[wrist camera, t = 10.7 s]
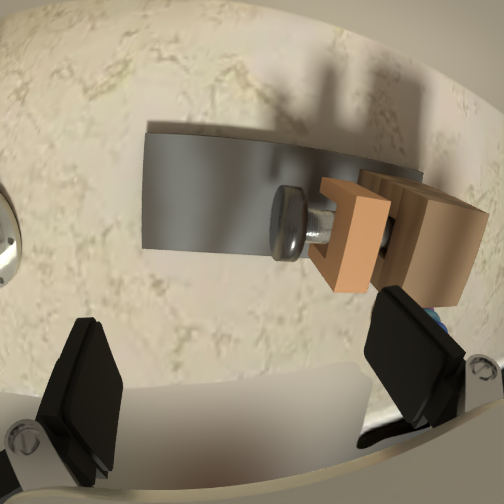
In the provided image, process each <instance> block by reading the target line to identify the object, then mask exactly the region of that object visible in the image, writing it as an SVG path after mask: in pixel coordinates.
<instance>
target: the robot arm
mask: <svg viewBox="0 0 504 504" xmlns="http://www.w3.org/2000/svg"><path fill="white" fill-rule="evenodd" d="M20 260H21V239H20V233H19V229H18V225H17V222H16V219H15V217H14V214H13V212H12V210H11V208H10V206H9V204H8V202H7V201H6V200H5V198H4V197H3V195H2V194H1V193H0V288H2V287H4V286H6V285H7V284H8V283H9V282H10V281H11V280H12V279H13V277H14V276H15V274H16V273H17V270H18V268H19V265H20ZM465 354H466V352H465V351H464V350H463V349H462V348H461V347H460V346H459V345H458V344H457V343H456V341H455V340H454V339H453V338H452V337H451V336H450V335H449V334H448V333H447V332H446V331H445V330H444V329H443V328H442V327H441V326H440V325H439V324H438V323H437V322H436V321H435V320H434V319H433V318H432V317H431V316H430V315H429V314H428V313H427V312H426V311H425V310H424V309H423V308H422V307H421V306H420V305H419V304H418V303H417V302H416V301H415V300H413V299H412V298H411V297H410V296H409V295H408V294H407V293H406V292H405V291H404V290H403V289H402V288H401V287H400V286H398V285H393V286H387V287H383V288H382V289H381V291H380V292H378V294H377V297H376V302H375V306H374V311H373V315H372V319H371V324H370V328H369V332H368V336H367V340H366V343H365V347H364V355H365V358H366V360H367V361H368V363H369V364H370V366H371V367H372V369H373V370H374V372H375V373H376V375H377V376H378V378H379V379H380V381H381V383H382V384H383V386H384V387H385V389H386V390H387V392H388V393H389V395H390V397H391V398H392V400H393V401H394V403H395V404H396V406H397V408H398V409H399V411H400V412H401V414H402V416H403V417H404V419H405V420H406V421H407V422H408V423H411V424H412V426H413V427H414V429H415V428H418V427H420V426H422V425H424V424H426V423H427V422H429V424H430V425H431V426H430V430H429V431H427V432H424V433H422V434H420V435H418V436H416V437H413V438H411V439H409V440H407V441H404V442H401V443H399V444H396V445H394V446H391V447H389V448H386V449H384V450H381V451H378V452H376V453H373V454H370V455H367V456H364V457H361V458H358V459H355V460H352V461H348V462H345V463H342V464H338V465H336V466H332V467H328V468H324V469H321V470H317V471H313V472H309V473H304V474H300V475H296V476H291V477H286V478H281V479H276V480H270V481H265V482H259V483H252V484H245V485H237V486H229V487H219V488H209V489H191V490H122V489H108V488H95V487H94V486H93V485H94V484H95V478H100V479H107V478H108V471H112V469H113V463H114V452H115V442H116V435H117V426H118V419H119V411H120V405H121V398H122V392H123V382H122V378H121V376H120V373H119V371H118V368H117V366H116V363H115V361H114V358H113V355H112V353H111V350H110V347H109V344H108V342H107V339H106V336H105V333H104V330H103V327H102V324H101V323H100V322H96V320H95V318H93V317H89V318H77V319H76V321H75V323H74V325H73V328H72V330H71V332H70V334H69V337H68V339H67V341H66V343H65V346H64V348H63V351H62V353H61V355H60V358H59V359H58V360H57V362H56V364H55V366H54V369H53V371H52V374H51V376H50V379H49V382H48V384H47V387H46V390H45V392H44V395H43V398H42V401H41V404H40V407H39V410H38V412H37V416H36V419H35V420H31V419H22V420H19V421H17V422H15V423H14V424H12V425H11V426H10V427H9V429H8V430H7V432H6V434H5V438H4V446H5V449H4V450H3V451H1V452H0V504H504V376H502V375H501V370H500V367H499V366H498V364H497V363H496V362H495V361H494V360H493V359H492V358H490V357H488V356H485V355H482V354H475V355H472V356H470V357H469V358H468V359H467V361H465V360H464V359H463V358H464V356H465Z"/></svg>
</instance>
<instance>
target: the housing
mask: <svg viewBox="0 0 504 504" xmlns="http://www.w3.org/2000/svg"><path fill="white" fill-rule="evenodd" d="M423 174H424V173H422V172H420V171H416V170H413V169H409V168H405V167H401V166H397V165H392V164H388V163H384V162H380V161H375V160H371V159H366V158H361V157H356V156H351V155H346V154H341V153H336V152H330V151H325V150H319V149H313V148H307V147H301V146H294V145H287V144H280V143H273V142H265V141H257V140H248V139H238V138H228V137H217V136H204V135H189V134H169V133H145V144H144V160H143V182H142V249H158V250H175V251H191V252H208V253H225V254H242V255H259V256H272V254H271V250H270V240H269V227H270V215H271V209H272V203H273V199H274V196H275V193H276V191H277V189H278V187H279V186H280V185H289V186H297V187H301V188H302V189H303V190H304V193H305V195H306V199H307V206H308V208H312V209H321V210H330V211H336V207H337V204H336V203H335V202H333V201H332V200H330V199H329V198H327V197H326V196H324V195H323V194H322V193H320V186H321V181H322V177H327V178H333V179H339V180H346V181H351V182H353V183H356V184H358V185H360V186H362V187H364V188H366V189H368V190H370V191H372V192H374V193H376V194H378V195H379V196H381V197H383V198H385V199H387V200H389V201H391V205H390V209H389V213H388V217H387V218H392V219H395V220H396V221H395V224H394V228H393V232H392V236H391V239H390V243H389V246H388V249H385V248H379V252H378V255H377V259H376V262H375V266H374V269H373V273H372V276H371V279H370V282H371V283H372V285H373V286H374V287H375V288H376V289H377V290H378V291H379V292H380V291H381V289H382V288H383V287H387V286H393V285H398V286H400V287H401V288H402V289H403V290H404V291H405V292H406V293H407V294H408V295H409V296H410V297H411V298H412V299H413V300H415V301H416V302H417V303H418V304H419V305H420V306H421V307H422V308H433V307H449V306H457V304H458V302H459V299H460V297H461V295H462V292H463V290H464V287H465V285H466V282H467V280H468V277H469V275H470V272H471V269H472V267H473V264H474V261H475V258H476V255H477V253H478V250H479V247H480V244H481V241H482V237H483V234H484V231H485V228H486V224H487V221H488V217H489V214H488V213H486V212H484V211H482V210H480V209H478V208H476V207H474V206H472V205H470V204H468V203H466V202H463V201H461V200H459V199H457V198H455V197H453V196H450V195H448V194H446V193H444V192H442V191H439V190H437V189H435V188H432V187H430V186H428V185H425V184H423V183H422V179H423ZM309 245H310V243H307V242H305V244H304V247H303V250H302V253H301V255H300V257H299V258H310V257H309V256H308V255H307V254H308V250H309Z"/></svg>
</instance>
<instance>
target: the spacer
mask: <svg viewBox="0 0 504 504" xmlns="http://www.w3.org/2000/svg"><path fill="white" fill-rule="evenodd" d="M320 193H322V194H323V195H324V196H326V197H327V198H329V199H330V200H332V201H333V202H335V203H336V204H337V207H336V212H335V216H334V221H333V226H332V231H331V235H330V240H329V244H321V243H310V245H309V250H308V254H307V255H308V256H309V257H310V259H311V260H312V262H313V263H314V265H315V266H316V267H317V269H318V270H319V272H320V273H321V275H322V276H323V277H324V279H325V280H326V282H327V283H328V285H329V286H330V288H331V289H332V290H333V292H341V293H366V292H367V289H368V286H369V282H370V279H371V276H372V273H373V269H374V266H375V262H376V259H377V255H378V252H379V248H380V244H381V241H382V237H383V233H384V229H385V225H386V221H387V217H388V213H389V209H390V205H391V201H389V200H387V199H385V198H383V197H381V196H379V195H378V194H376V193H374V192H372V191H370V190H368V189H366V188H364V187H362V186H360V185H358V184H356V183H353V182H351V181H346V180H339V179H333V178H327V177H322V181H321V186H320Z"/></svg>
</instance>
